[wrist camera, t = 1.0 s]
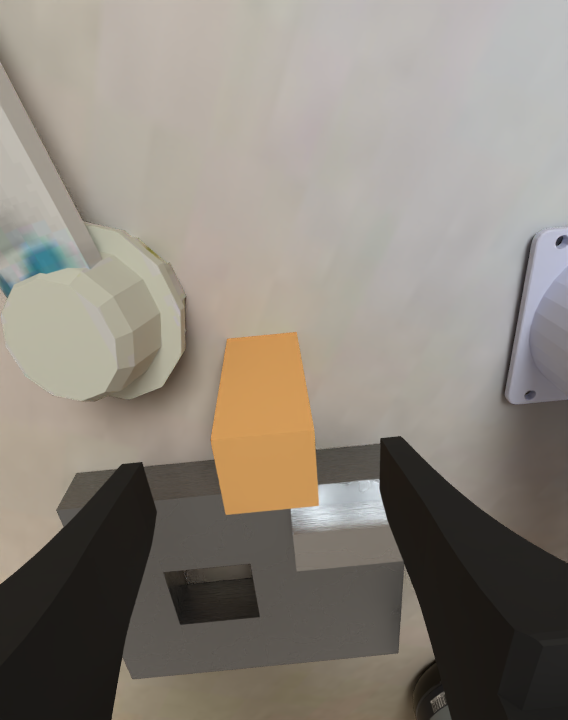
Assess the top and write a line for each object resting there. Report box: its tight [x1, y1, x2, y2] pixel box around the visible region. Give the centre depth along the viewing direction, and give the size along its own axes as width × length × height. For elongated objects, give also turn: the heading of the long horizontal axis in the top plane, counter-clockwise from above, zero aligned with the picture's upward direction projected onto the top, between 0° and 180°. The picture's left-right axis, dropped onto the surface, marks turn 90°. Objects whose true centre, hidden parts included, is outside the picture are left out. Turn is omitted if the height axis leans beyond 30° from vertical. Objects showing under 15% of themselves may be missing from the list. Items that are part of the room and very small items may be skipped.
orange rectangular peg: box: [211, 332, 319, 515], centre depth 16 cm, size 3×3×7 cm
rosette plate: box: [56, 444, 404, 679], centre depth 23 cm, size 16×14×4 cm
